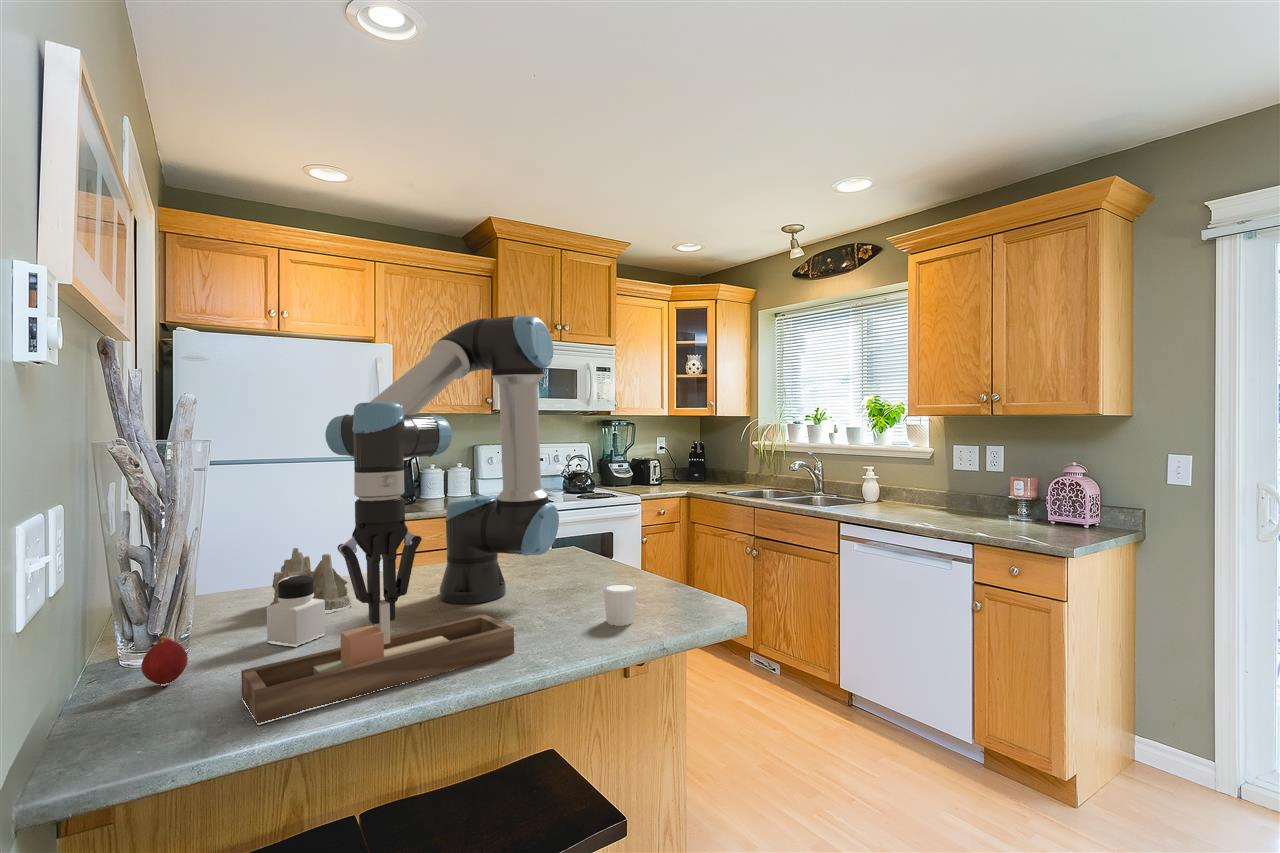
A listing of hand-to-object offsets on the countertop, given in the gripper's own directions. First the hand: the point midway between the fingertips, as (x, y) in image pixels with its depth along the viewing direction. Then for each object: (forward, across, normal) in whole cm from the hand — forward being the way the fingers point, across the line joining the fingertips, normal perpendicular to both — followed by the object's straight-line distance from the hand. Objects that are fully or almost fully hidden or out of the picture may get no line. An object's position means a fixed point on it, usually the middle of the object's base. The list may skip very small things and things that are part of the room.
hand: (382, 641), depth 105 cm
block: (+3, -3, 0) cm, 4 cm away
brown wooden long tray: (+6, +1, 0) cm, 6 cm away
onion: (+6, -27, +20) cm, 34 cm away
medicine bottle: (+6, -6, +29) cm, 30 cm away
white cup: (+6, +46, -5) cm, 47 cm away
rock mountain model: (+6, +2, +51) cm, 51 cm away
